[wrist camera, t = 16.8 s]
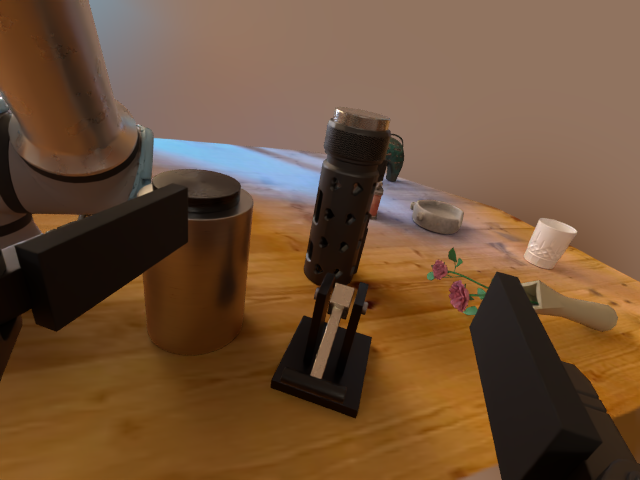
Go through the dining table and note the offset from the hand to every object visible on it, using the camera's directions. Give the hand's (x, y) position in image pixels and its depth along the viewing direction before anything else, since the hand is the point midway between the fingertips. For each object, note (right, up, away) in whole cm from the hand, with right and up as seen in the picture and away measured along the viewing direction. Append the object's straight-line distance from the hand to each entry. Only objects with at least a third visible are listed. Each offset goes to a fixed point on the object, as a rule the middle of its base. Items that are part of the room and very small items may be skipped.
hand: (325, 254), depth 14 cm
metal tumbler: (-17, -10, +31) cm, 37 cm away
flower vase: (+33, -14, +43) cm, 56 cm away
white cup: (+53, -5, +69) cm, 87 cm away
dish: (+31, +5, +79) cm, 85 cm away
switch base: (0, -15, +29) cm, 32 cm away
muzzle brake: (+2, -6, +48) cm, 48 cm away
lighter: (+13, +8, +78) cm, 79 cm away
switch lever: (+1, -10, +22) cm, 24 cm away
